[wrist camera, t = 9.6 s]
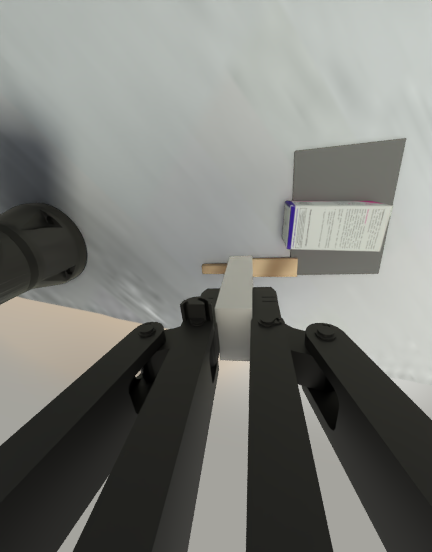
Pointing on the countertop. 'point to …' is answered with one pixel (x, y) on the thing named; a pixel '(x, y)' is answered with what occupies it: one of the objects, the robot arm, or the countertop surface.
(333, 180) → the mat
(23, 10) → the countertop surface
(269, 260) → the turner
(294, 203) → the supplement box
